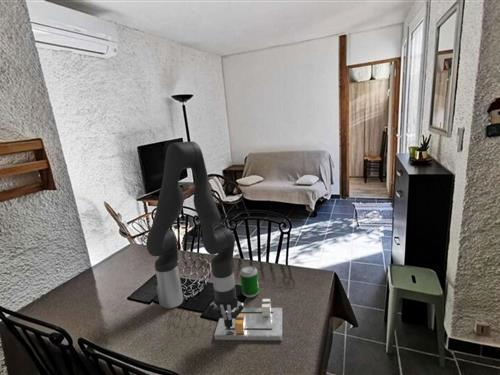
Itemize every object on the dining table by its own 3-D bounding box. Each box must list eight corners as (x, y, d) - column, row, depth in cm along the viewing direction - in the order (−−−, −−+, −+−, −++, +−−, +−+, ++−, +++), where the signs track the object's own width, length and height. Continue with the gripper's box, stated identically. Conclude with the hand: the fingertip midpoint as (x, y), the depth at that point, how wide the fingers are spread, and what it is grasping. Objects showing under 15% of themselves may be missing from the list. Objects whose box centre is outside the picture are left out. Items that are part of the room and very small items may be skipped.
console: (214, 341, 105) (213, 336, 104) (223, 311, 120) (222, 307, 119) (282, 342, 102) (281, 337, 101) (282, 312, 117) (282, 307, 116)
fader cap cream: (262, 316, 112) (261, 306, 111) (263, 307, 117) (262, 297, 116) (270, 316, 111) (269, 306, 110) (271, 307, 116) (270, 297, 115)
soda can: (257, 299, 126) (255, 274, 123) (240, 298, 128) (238, 273, 125) (260, 288, 133) (258, 265, 130) (244, 288, 135) (242, 264, 132)
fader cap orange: (235, 333, 104) (234, 322, 103) (237, 323, 109) (236, 313, 108) (244, 333, 104) (243, 322, 103) (245, 323, 109) (244, 313, 108)
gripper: (202, 290, 100) (208, 334, 104) (241, 290, 98) (245, 334, 102) (208, 278, 107) (213, 319, 111) (244, 278, 105) (248, 319, 109)
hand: (229, 326), depth 107 cm, fingers closed
